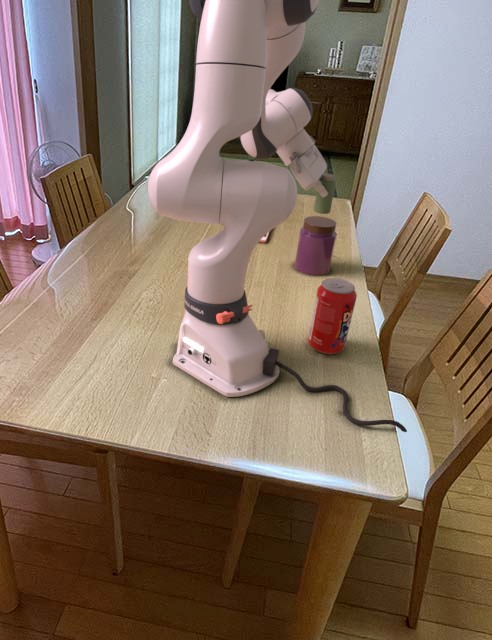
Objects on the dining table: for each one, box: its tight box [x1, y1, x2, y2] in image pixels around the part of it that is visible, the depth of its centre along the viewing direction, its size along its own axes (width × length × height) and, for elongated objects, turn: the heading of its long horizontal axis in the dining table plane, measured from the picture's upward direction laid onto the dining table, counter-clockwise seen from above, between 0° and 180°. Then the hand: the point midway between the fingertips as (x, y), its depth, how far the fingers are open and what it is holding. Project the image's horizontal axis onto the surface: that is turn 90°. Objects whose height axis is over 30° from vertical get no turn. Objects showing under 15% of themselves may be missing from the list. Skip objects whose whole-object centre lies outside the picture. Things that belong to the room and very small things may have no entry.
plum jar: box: [294, 215, 338, 276], centre depth 136 cm, size 10×10×14 cm
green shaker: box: [313, 173, 337, 215], centre depth 129 cm, size 4×4×10 cm
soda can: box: [307, 277, 358, 355], centre depth 101 cm, size 8×8×15 cm
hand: (327, 192), depth 128 cm, fingers closed on green shaker, 4 cm apart
